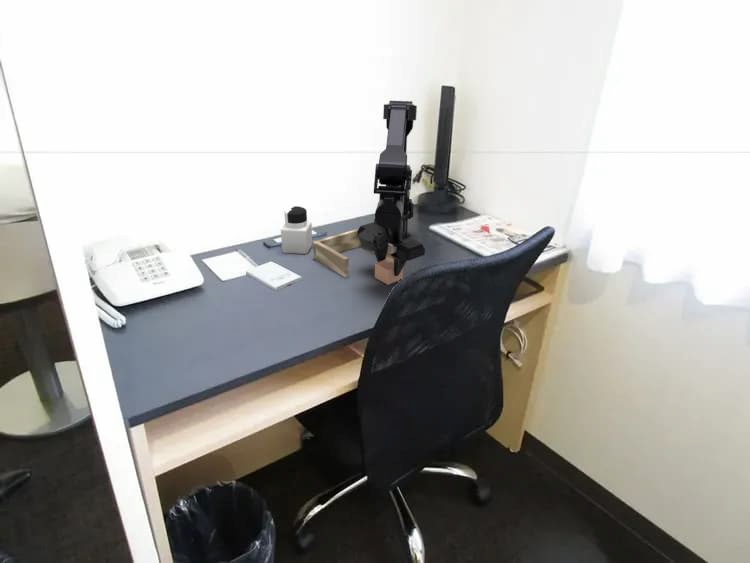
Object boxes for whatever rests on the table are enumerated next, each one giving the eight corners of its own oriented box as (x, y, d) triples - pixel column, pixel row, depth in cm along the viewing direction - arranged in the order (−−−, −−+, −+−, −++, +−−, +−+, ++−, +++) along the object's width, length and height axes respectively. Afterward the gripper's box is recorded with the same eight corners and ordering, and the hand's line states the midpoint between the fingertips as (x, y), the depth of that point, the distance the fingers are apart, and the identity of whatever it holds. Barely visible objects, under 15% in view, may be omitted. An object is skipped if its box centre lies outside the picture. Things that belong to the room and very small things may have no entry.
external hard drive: (272, 266, 128) (302, 281, 121) (246, 276, 123) (275, 293, 115) (272, 260, 127) (302, 275, 120) (245, 270, 122) (275, 287, 114)
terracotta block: (389, 271, 125) (389, 257, 123) (402, 278, 121) (403, 264, 119) (374, 277, 122) (375, 263, 120) (387, 284, 118) (388, 270, 117)
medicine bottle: (312, 244, 140) (310, 204, 134) (307, 254, 134) (305, 213, 128) (288, 242, 140) (285, 203, 135) (282, 253, 134) (278, 212, 128)
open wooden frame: (360, 243, 141) (360, 227, 138) (392, 260, 131) (393, 243, 129) (313, 258, 131) (312, 241, 129) (344, 277, 122) (344, 259, 119)
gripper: (340, 209, 115) (340, 267, 122) (392, 232, 102) (389, 296, 110) (375, 200, 121) (374, 256, 129) (428, 221, 109) (424, 281, 116)
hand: (388, 271), depth 121 cm, fingers open, 5 cm apart
